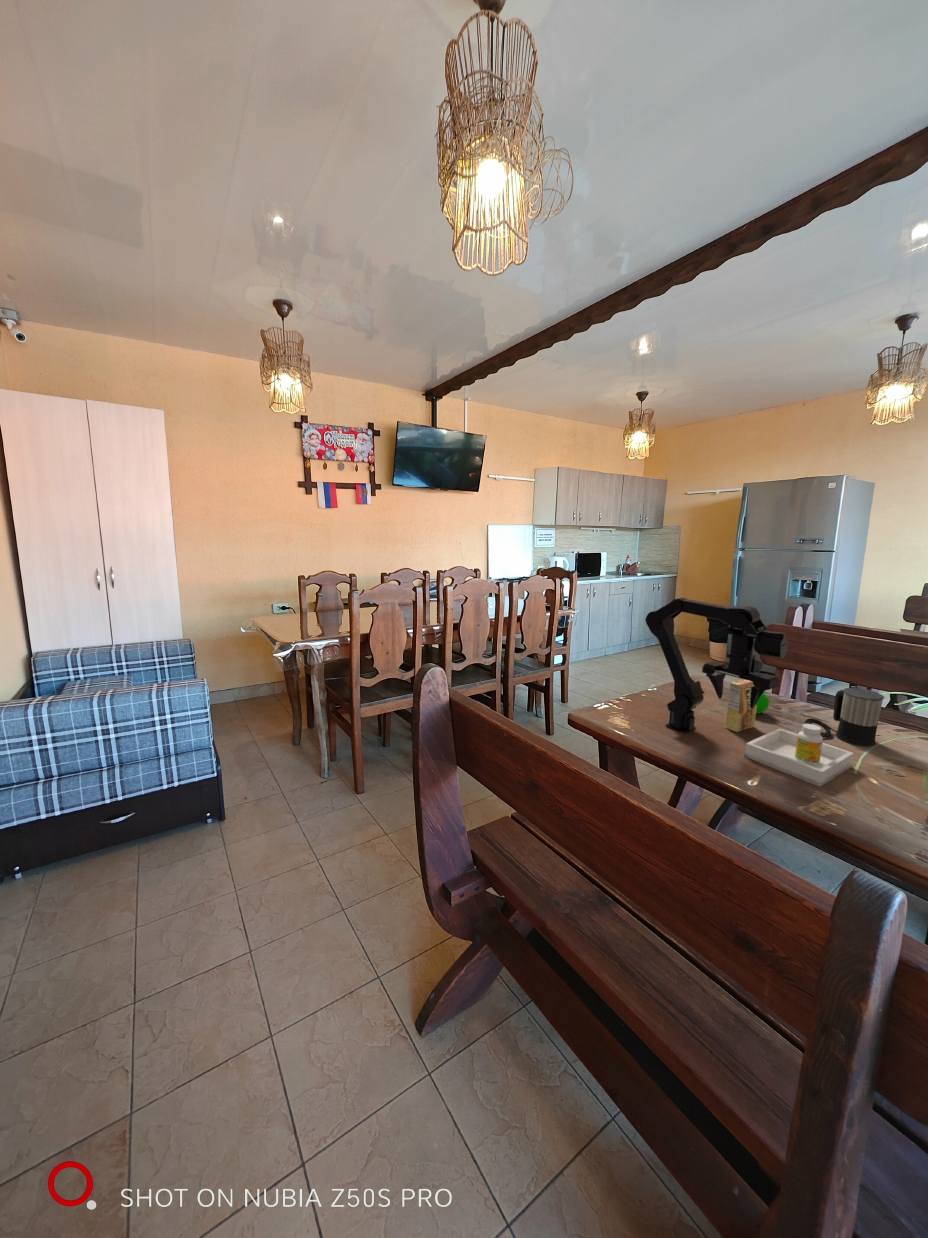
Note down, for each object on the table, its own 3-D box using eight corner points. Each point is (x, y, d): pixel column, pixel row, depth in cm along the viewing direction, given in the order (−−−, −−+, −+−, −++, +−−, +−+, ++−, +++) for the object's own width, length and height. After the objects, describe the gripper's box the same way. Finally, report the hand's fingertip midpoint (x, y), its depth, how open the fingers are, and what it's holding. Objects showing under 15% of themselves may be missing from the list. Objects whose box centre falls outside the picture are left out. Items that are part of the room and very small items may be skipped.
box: (744, 756, 127) (746, 743, 126) (777, 740, 136) (779, 728, 135) (819, 787, 112) (822, 772, 111) (851, 767, 121) (853, 753, 120)
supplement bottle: (792, 760, 123) (796, 726, 121) (797, 753, 126) (802, 720, 125) (816, 767, 119) (821, 733, 117) (821, 760, 122) (827, 727, 121)
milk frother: (884, 745, 133) (893, 697, 130) (840, 751, 130) (848, 702, 127) (836, 725, 146) (843, 681, 144) (795, 729, 144) (801, 685, 141)
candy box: (742, 722, 149) (747, 677, 146) (755, 727, 146) (760, 681, 143) (724, 727, 146) (729, 682, 143) (737, 732, 142) (742, 686, 139)
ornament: (747, 706, 162) (750, 679, 160) (772, 713, 156) (775, 686, 154) (735, 711, 158) (738, 684, 156) (760, 719, 151) (764, 690, 149)
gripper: (792, 654, 125) (785, 707, 128) (724, 640, 141) (719, 688, 144) (771, 660, 119) (764, 716, 122) (703, 645, 135) (698, 695, 138)
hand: (735, 703), depth 132 cm, fingers open, 9 cm apart
